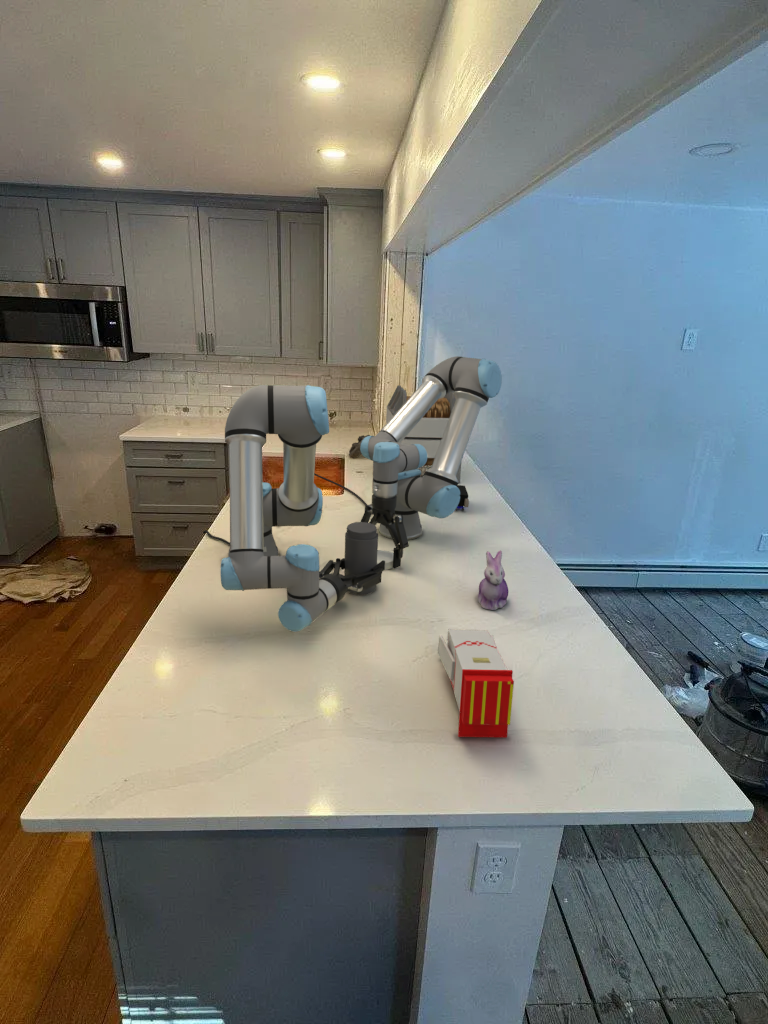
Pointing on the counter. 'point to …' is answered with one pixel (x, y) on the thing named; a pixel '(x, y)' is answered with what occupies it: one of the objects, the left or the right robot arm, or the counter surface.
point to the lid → (385, 558)
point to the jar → (360, 551)
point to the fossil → (356, 447)
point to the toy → (478, 682)
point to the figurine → (493, 584)
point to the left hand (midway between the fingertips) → (368, 561)
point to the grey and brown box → (425, 423)
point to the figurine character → (463, 497)
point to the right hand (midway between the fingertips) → (381, 560)
